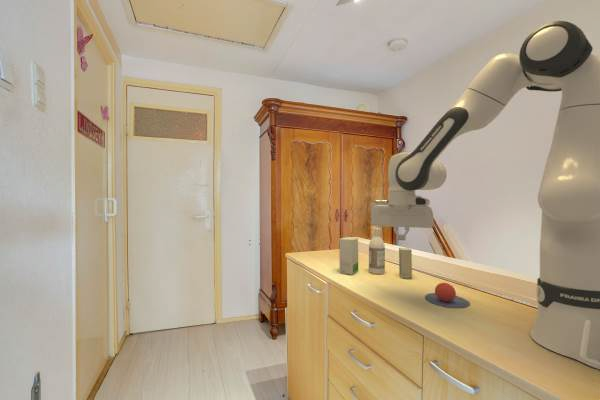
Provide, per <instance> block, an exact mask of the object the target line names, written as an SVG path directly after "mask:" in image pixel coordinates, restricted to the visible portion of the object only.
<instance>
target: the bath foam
mask: <svg viewBox="0 0 600 400" xmlns="http://www.w3.org/2000/svg"><path fill="white" fill-rule="evenodd" d="M385 271H386V247H385V242H384V240H383V239H382V237H381V228H379V227H375V228H373V236H372V238H371V239H370V241H369V245H368V273H370V274H373V275H384V274H385Z"/></svg>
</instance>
